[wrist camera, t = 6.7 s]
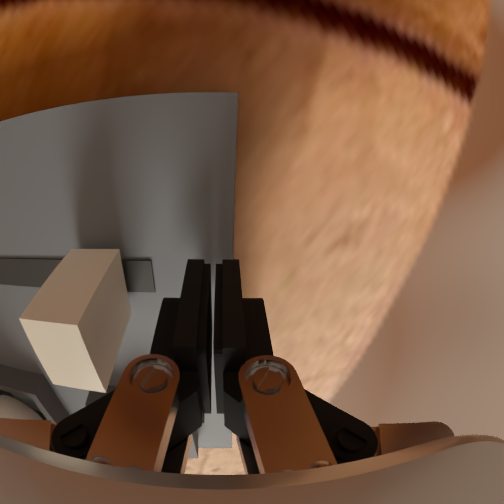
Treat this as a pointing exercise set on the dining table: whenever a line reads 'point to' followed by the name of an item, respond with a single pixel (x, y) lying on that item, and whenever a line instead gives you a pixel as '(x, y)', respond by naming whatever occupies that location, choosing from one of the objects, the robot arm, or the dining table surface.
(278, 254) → the dining table surface
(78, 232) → the panel
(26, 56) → the dining table surface
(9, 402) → the button
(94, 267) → the slider knob
